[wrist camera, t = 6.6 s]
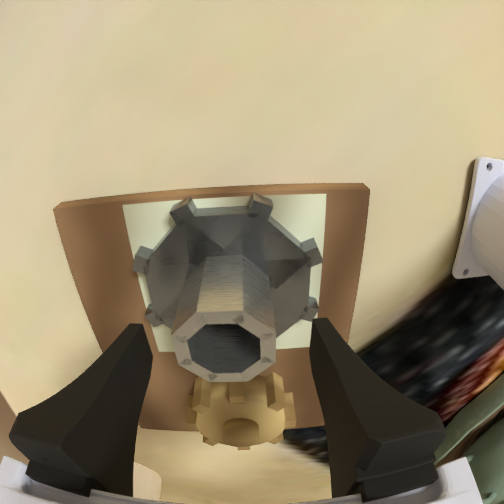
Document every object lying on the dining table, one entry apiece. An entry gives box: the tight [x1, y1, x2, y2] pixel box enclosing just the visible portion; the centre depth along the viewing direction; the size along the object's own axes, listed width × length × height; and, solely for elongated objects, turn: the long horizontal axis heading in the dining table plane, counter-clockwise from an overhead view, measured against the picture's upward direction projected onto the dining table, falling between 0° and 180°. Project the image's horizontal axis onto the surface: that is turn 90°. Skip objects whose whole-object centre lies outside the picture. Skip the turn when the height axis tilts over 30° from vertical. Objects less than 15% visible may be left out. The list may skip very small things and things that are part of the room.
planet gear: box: [132, 193, 323, 382], centre depth 15 cm, size 9×9×5 cm
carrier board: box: [53, 183, 370, 450], centre depth 18 cm, size 16×20×4 cm
